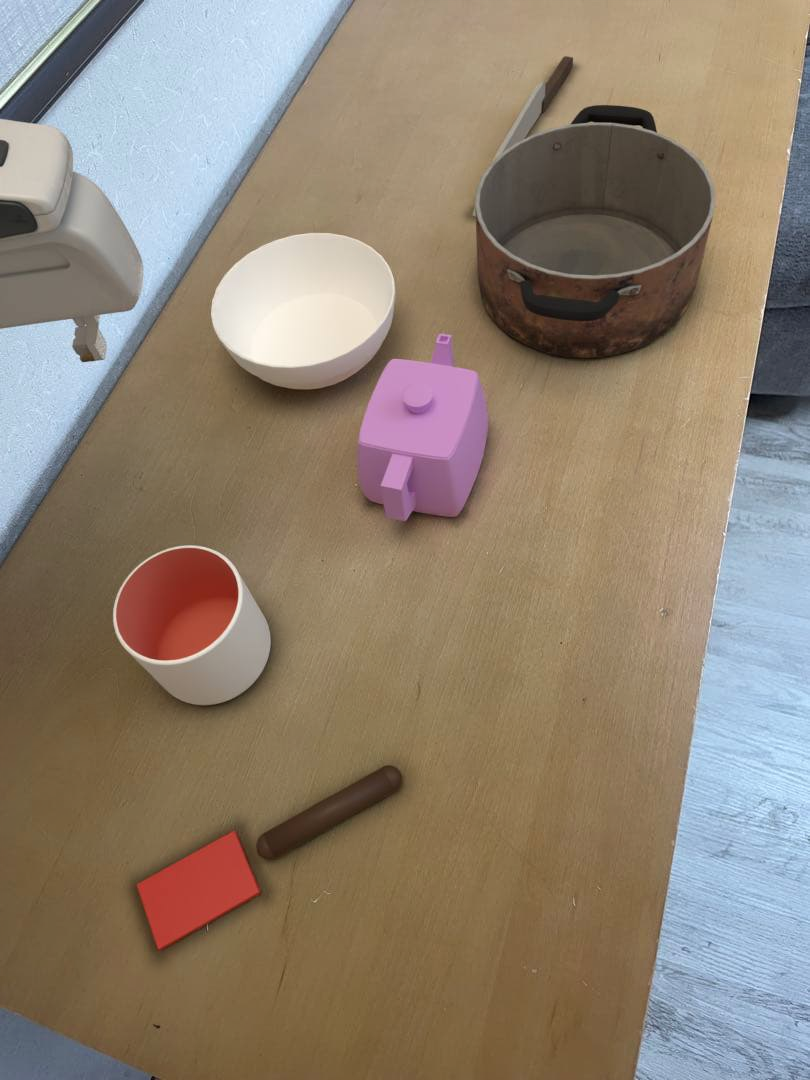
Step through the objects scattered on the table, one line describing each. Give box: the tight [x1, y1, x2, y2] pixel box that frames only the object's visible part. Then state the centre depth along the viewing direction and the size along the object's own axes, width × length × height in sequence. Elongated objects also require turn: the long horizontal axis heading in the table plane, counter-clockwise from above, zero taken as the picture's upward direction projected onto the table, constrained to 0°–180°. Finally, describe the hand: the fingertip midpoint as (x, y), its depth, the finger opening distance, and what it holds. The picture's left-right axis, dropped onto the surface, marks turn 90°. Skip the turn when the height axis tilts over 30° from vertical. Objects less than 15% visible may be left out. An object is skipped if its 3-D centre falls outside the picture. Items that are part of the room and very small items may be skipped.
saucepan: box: [474, 104, 717, 359], centre depth 85 cm, size 30×22×11 cm
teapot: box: [357, 333, 489, 522], centre depth 75 cm, size 18×10×10 cm, turn 163°
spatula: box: [136, 764, 403, 951], centre depth 63 cm, size 21×5×2 cm, turn 118°
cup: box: [112, 544, 272, 706], centre depth 68 cm, size 10×10×10 cm
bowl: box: [210, 232, 396, 391], centre depth 86 cm, size 18×18×7 cm
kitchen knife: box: [471, 55, 574, 218], centre depth 101 cm, size 4×1×30 cm
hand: (28, 363), depth 57 cm, fingers open, 8 cm apart
